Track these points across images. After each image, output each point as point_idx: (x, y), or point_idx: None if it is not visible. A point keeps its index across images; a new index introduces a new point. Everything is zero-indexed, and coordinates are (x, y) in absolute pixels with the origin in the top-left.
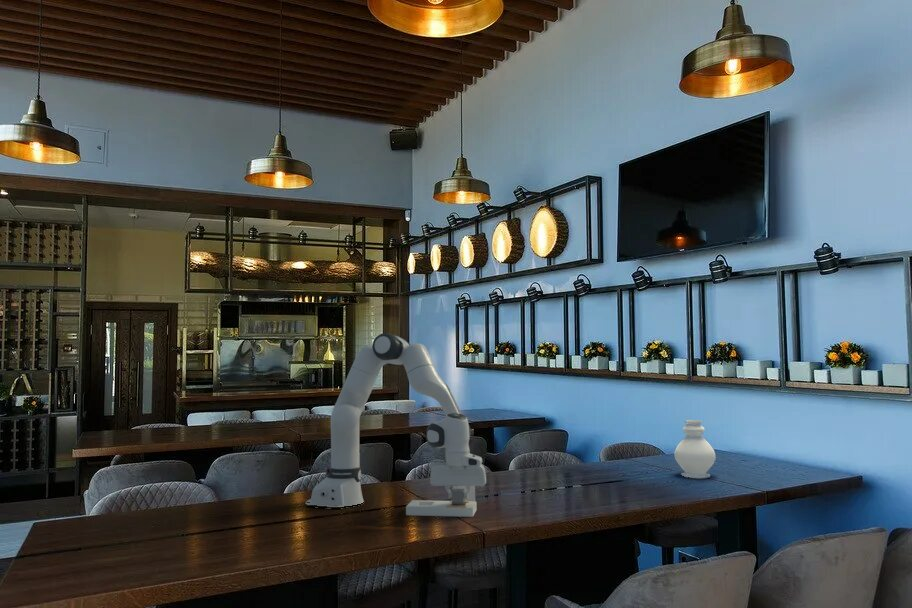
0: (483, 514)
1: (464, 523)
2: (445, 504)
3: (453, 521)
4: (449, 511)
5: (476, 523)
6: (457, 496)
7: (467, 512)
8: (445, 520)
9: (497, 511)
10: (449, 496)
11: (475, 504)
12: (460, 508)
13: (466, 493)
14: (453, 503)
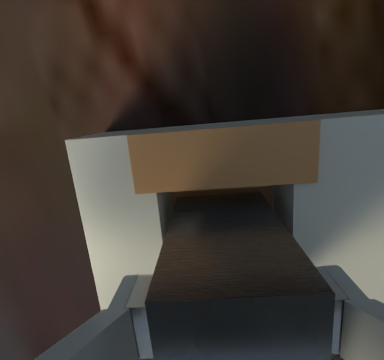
0: (82, 258)
1: (130, 17)
2: (338, 224)
3: (220, 58)
4: (273, 120)
5: (50, 35)
6: (229, 252)
7: (125, 133)
8: (282, 75)
9: (32, 323)
10: (335, 273)
11: (101, 289)
12: (177, 131)
13: (118, 310)
14: (263, 213)
